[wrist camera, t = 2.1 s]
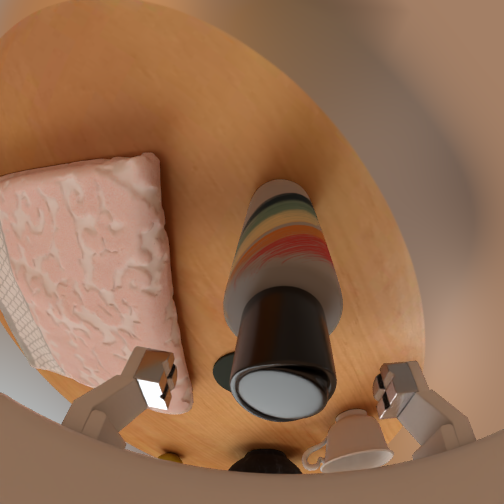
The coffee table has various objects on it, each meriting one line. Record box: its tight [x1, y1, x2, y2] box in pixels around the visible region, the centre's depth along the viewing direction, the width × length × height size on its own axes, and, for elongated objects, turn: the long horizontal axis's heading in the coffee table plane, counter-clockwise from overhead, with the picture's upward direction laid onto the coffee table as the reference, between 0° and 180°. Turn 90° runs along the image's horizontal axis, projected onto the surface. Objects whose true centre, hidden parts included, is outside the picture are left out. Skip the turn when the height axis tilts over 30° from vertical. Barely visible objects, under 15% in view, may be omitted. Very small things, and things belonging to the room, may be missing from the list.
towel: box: [0, 153, 194, 414], centre depth 31 cm, size 36×34×6 cm
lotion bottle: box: [223, 179, 343, 422], centre depth 17 cm, size 6×6×20 cm
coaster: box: [213, 352, 235, 392], centre depth 37 cm, size 10×10×1 cm
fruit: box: [158, 453, 183, 464], centre depth 51 cm, size 7×7×12 cm
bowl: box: [228, 449, 302, 474], centre depth 47 cm, size 17×17×10 cm
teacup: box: [302, 409, 394, 473], centre depth 38 cm, size 12×15×10 cm
